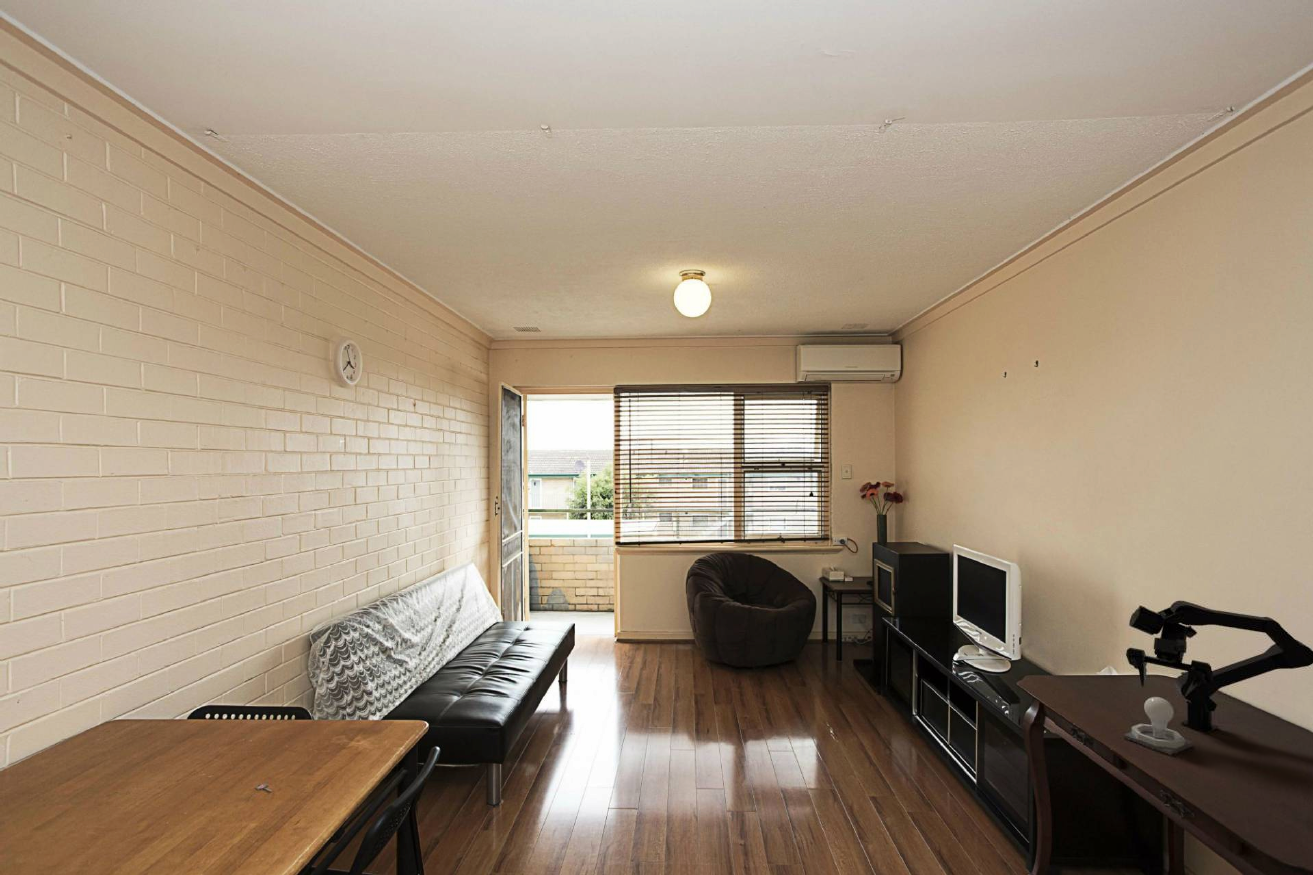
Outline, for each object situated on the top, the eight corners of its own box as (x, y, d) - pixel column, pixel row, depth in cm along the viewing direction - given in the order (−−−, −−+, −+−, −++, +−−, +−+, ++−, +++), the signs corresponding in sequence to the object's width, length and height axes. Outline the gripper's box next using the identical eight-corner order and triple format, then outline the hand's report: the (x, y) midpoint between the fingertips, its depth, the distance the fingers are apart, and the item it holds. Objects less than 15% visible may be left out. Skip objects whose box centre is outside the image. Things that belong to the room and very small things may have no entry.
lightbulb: (1179, 745, 173) (1179, 703, 173) (1152, 743, 174) (1151, 701, 174) (1165, 734, 179) (1165, 694, 179) (1139, 732, 181) (1139, 692, 181)
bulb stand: (1146, 729, 184) (1145, 721, 184) (1192, 746, 175) (1192, 736, 175) (1123, 738, 179) (1123, 729, 179) (1170, 755, 170) (1170, 745, 170)
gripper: (1127, 619, 191) (1116, 666, 183) (1210, 633, 177) (1202, 685, 169) (1135, 640, 196) (1124, 687, 189) (1216, 656, 182) (1208, 707, 175)
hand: (1163, 691), depth 180 cm, fingers open, 9 cm apart
